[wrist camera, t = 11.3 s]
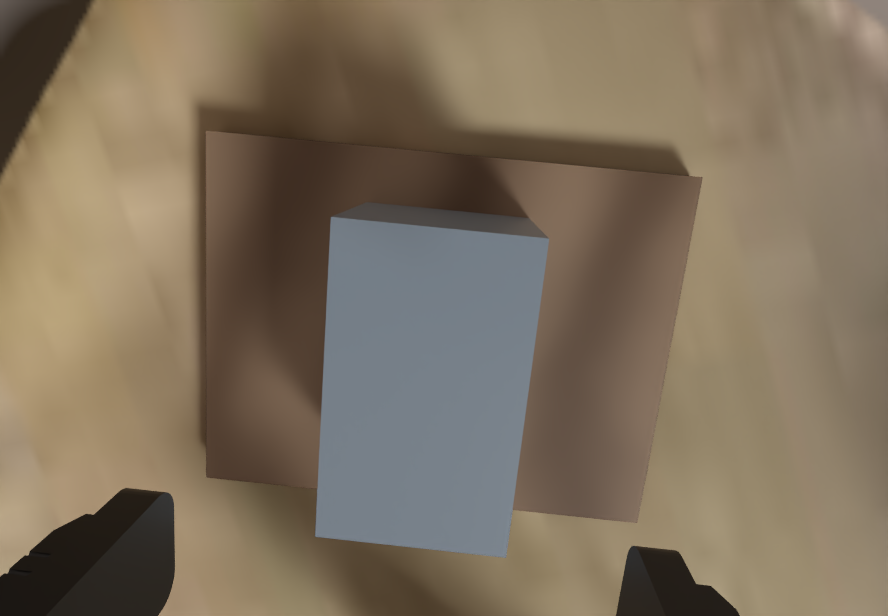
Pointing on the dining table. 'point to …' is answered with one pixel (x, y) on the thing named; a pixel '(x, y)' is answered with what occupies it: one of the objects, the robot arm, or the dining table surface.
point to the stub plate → (559, 324)
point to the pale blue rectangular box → (426, 375)
